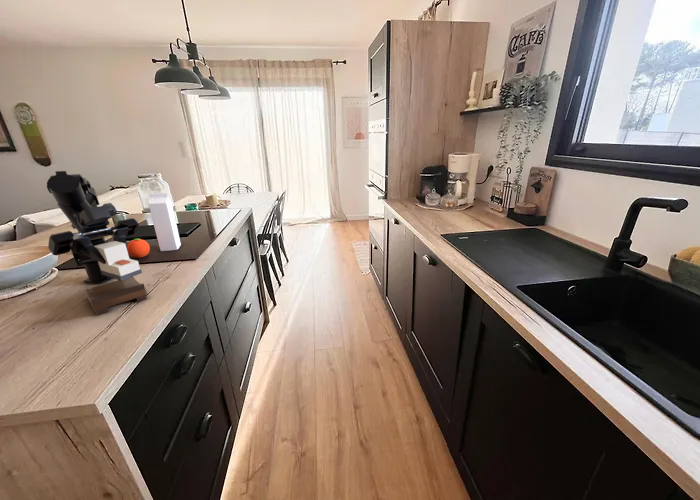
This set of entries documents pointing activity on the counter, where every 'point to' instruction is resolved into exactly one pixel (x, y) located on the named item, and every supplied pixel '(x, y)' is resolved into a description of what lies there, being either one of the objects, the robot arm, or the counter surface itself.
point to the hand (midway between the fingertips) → (116, 259)
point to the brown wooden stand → (115, 294)
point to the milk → (164, 222)
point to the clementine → (138, 248)
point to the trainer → (117, 261)
